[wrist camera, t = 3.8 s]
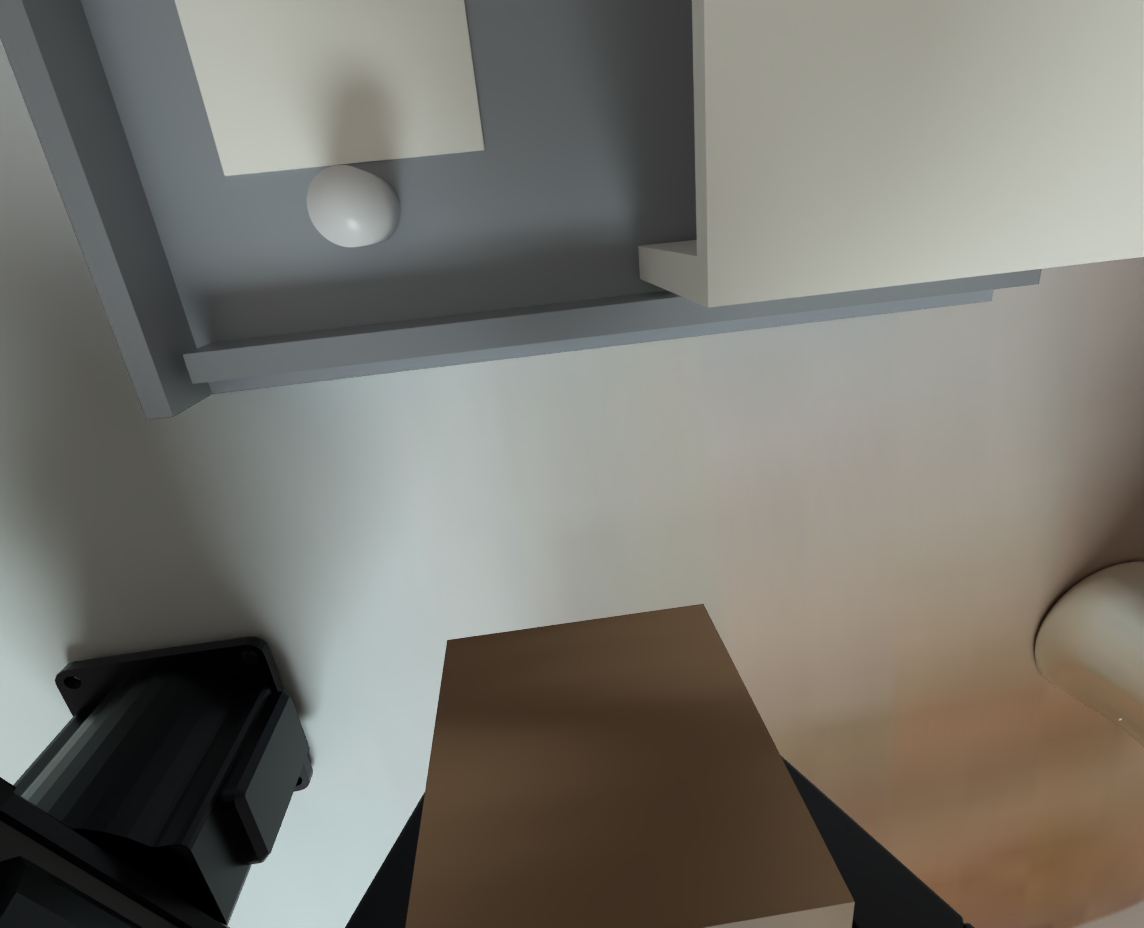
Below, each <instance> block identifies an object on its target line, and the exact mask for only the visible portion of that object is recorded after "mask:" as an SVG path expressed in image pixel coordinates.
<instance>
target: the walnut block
mask: <svg viewBox="0 0 1144 928" xmlns="http://www.w3.org/2000/svg"><path fill="white" fill-rule="evenodd" d="M854 904H855V901H854V899H853V897H852V895H851V893H850V891H849V890H848V888H847V886H846V884H845V882H844V880H843V878H842V876H841V874H840V872H839V870H838V868H837V866H836V864H835V862H834V860H833V858H832V856H831V854H830V852H829V850H828V848H827V846H826V844H825V842H824V840H823V838H822V836H821V834H820V832H819V831H818V829H817V827H816V825H815V823H814V821H813V819H812V817H811V815H810V813H809V811H808V809H807V807H806V805H805V803H804V801H803V799H802V797H801V795H800V793H799V791H798V789H797V787H796V785H795V783H794V781H793V779H792V777H791V775H790V773H789V772H788V770H787V768H786V766H785V764H784V762H783V760H782V758H781V756H780V754H779V752H778V750H777V748H776V746H775V744H774V742H773V740H772V738H771V736H770V734H769V732H768V730H767V728H766V726H765V724H764V722H763V720H762V718H761V716H760V714H759V713H758V711H757V709H756V707H755V705H754V703H753V701H752V699H751V697H750V695H749V693H748V691H747V689H746V687H745V685H744V683H743V681H742V679H741V677H740V675H739V673H738V671H737V669H736V667H735V665H734V663H733V661H732V659H731V657H730V655H729V654H728V652H727V650H726V648H725V646H724V644H723V642H722V640H721V638H720V636H719V634H718V632H717V630H716V628H715V626H714V624H713V622H712V620H711V618H710V616H709V614H708V612H707V610H706V608H705V606H704V604H699V605H692V606H685V607H678V608H671V609H664V610H657V611H650V612H643V613H636V614H629V615H622V616H615V617H607V618H600V619H593V620H586V621H579V622H572V623H565V624H558V625H551V626H544V627H537V628H530V629H523V630H516V631H509V632H502V633H495V634H488V635H481V636H473V637H466V638H459V639H452V640H447V646H446V653H445V660H444V667H443V674H442V680H441V687H440V694H439V701H438V708H437V715H436V721H435V728H434V735H433V742H432V749H431V756H430V762H429V769H428V776H427V783H426V790H425V797H424V803H423V810H422V817H421V824H420V831H419V838H418V844H417V851H416V858H415V865H414V872H413V879H412V885H411V892H410V899H409V906H408V913H407V920H406V926H405V928H852V921H853V912H854Z"/></svg>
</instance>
